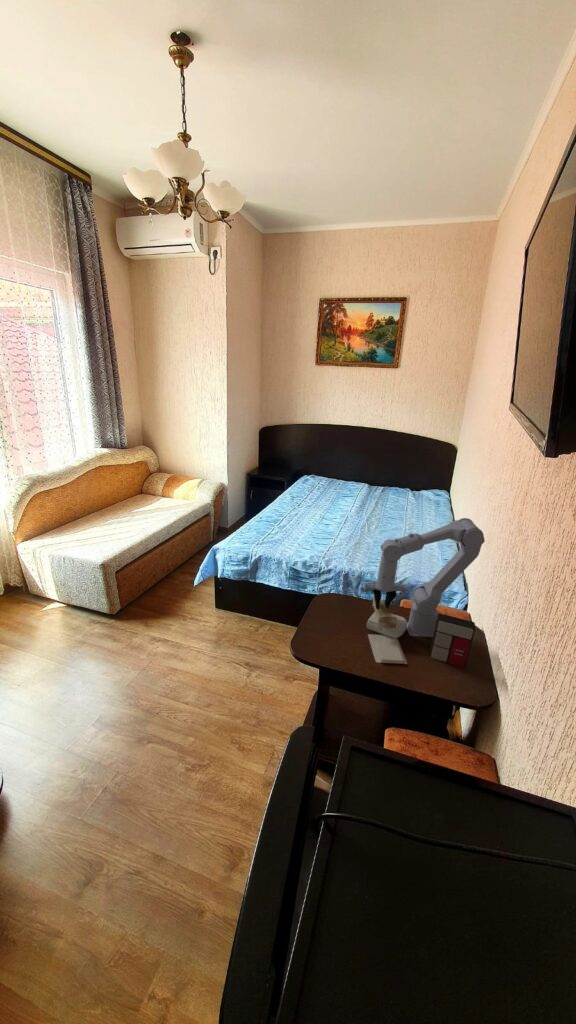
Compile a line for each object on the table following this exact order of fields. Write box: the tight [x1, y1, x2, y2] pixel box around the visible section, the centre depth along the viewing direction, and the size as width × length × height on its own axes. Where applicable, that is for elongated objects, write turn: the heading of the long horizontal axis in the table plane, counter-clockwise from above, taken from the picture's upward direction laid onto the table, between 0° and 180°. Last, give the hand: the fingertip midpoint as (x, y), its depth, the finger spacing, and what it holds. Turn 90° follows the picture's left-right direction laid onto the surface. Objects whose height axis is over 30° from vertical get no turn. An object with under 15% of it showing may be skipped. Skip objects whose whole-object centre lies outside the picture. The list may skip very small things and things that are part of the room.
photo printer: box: [366, 611, 408, 639], centre depth 144 cm, size 10×4×12 cm
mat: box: [367, 633, 408, 665], centre depth 134 cm, size 10×14×1 cm
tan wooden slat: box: [372, 595, 398, 628], centre depth 143 cm, size 6×16×4 cm, turn 1°
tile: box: [375, 641, 404, 665], centre depth 131 cm, size 7×2×9 cm
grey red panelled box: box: [428, 612, 476, 668], centre depth 129 cm, size 11×4×15 cm, turn 68°
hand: (381, 607), depth 143 cm, fingers closed on tan wooden slat, 2 cm apart
